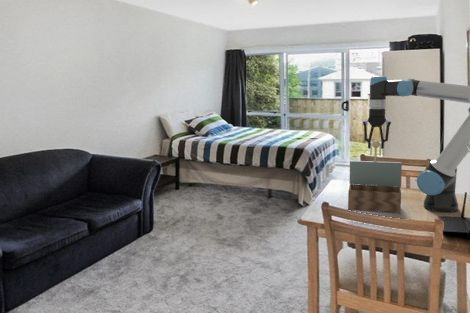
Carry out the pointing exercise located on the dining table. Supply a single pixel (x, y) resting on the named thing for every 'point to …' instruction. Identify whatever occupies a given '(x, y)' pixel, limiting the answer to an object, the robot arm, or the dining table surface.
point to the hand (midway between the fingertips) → (375, 154)
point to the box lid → (375, 171)
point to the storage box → (374, 198)
